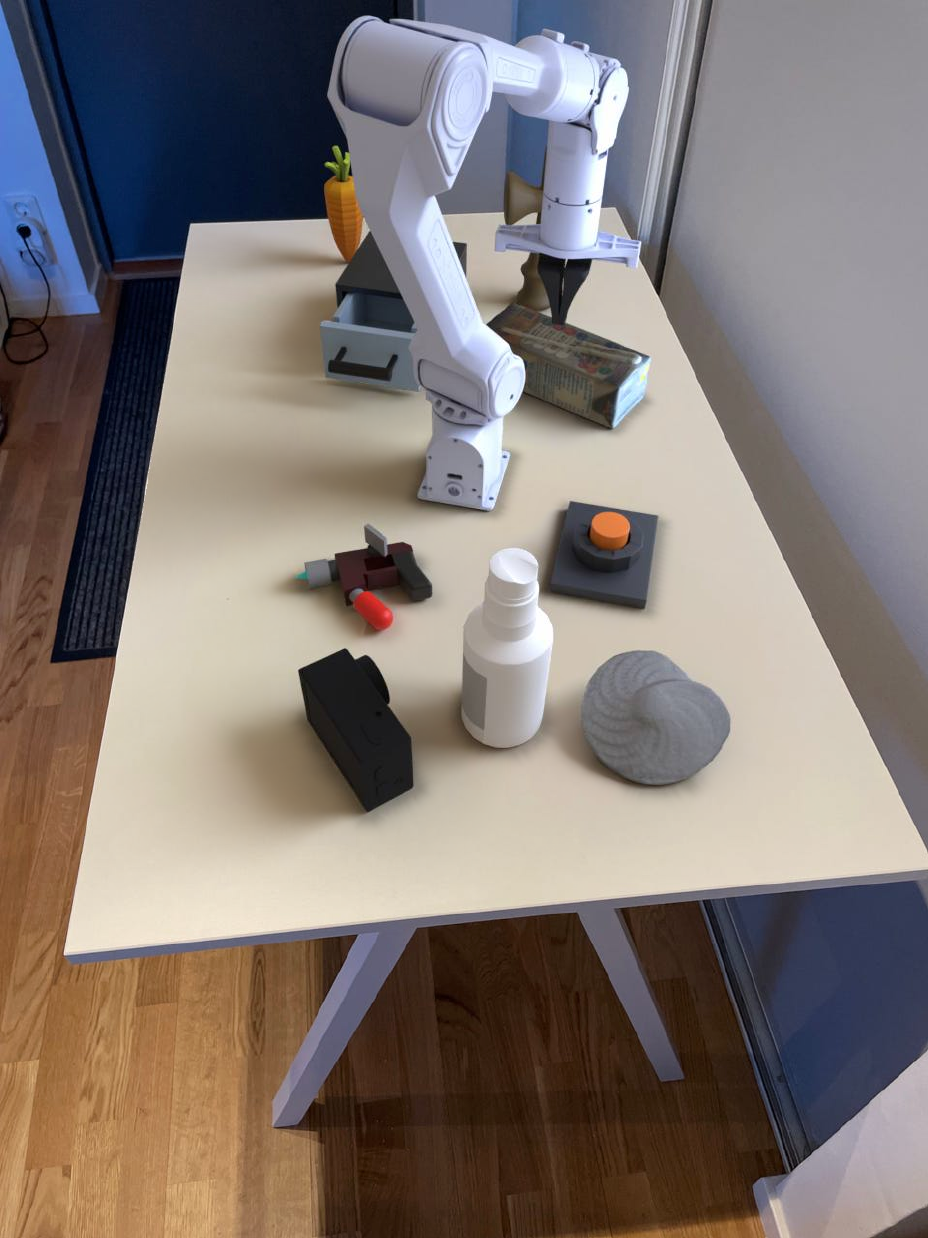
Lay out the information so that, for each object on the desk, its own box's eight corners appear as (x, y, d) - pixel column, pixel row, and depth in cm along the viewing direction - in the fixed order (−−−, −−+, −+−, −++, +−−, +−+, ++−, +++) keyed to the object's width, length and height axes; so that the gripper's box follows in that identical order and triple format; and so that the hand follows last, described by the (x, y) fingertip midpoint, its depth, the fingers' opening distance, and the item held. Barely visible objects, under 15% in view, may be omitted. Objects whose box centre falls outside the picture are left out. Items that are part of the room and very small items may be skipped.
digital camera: (428, 781, 73) (427, 731, 68) (367, 814, 71) (362, 765, 66) (364, 692, 79) (359, 640, 73) (307, 720, 77) (297, 668, 71)
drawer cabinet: (440, 363, 111) (440, 298, 105) (341, 349, 113) (334, 283, 107) (465, 306, 120) (467, 242, 114) (373, 293, 122) (369, 230, 115)
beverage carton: (612, 433, 103) (620, 383, 98) (471, 375, 110) (472, 325, 105) (645, 399, 107) (655, 349, 102) (508, 345, 114) (510, 296, 109)
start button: (624, 553, 87) (627, 540, 85) (587, 547, 87) (589, 533, 86) (629, 528, 89) (632, 514, 88) (592, 522, 89) (594, 508, 88)
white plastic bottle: (500, 670, 80) (511, 517, 67) (558, 716, 77) (583, 565, 64) (444, 714, 77) (444, 563, 64) (502, 764, 74) (515, 616, 60)
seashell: (618, 661, 81) (550, 720, 75) (642, 621, 77) (572, 679, 71) (724, 749, 78) (662, 818, 72) (755, 711, 73) (691, 781, 67)
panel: (644, 609, 85) (650, 587, 83) (549, 592, 87) (552, 570, 84) (656, 524, 93) (661, 501, 91) (568, 509, 94) (571, 486, 92)
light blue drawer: (409, 413, 103) (407, 361, 98) (312, 398, 105) (306, 346, 100) (445, 334, 114) (445, 283, 109) (357, 322, 116) (353, 271, 110)
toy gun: (293, 574, 88) (287, 537, 84) (416, 552, 90) (415, 515, 86) (310, 650, 82) (303, 613, 78) (441, 624, 84) (440, 588, 80)
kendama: (498, 291, 123) (505, 133, 108) (569, 291, 123) (587, 133, 108) (500, 315, 119) (508, 154, 104) (574, 315, 119) (592, 155, 104)
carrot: (365, 271, 126) (357, 158, 114) (329, 270, 126) (317, 157, 114) (368, 254, 129) (361, 141, 118) (333, 253, 129) (322, 140, 118)
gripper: (651, 183, 90) (630, 309, 101) (506, 167, 92) (500, 292, 102) (645, 215, 86) (623, 344, 96) (493, 197, 88) (487, 325, 98)
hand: (559, 319), depth 99 cm, fingers closed
